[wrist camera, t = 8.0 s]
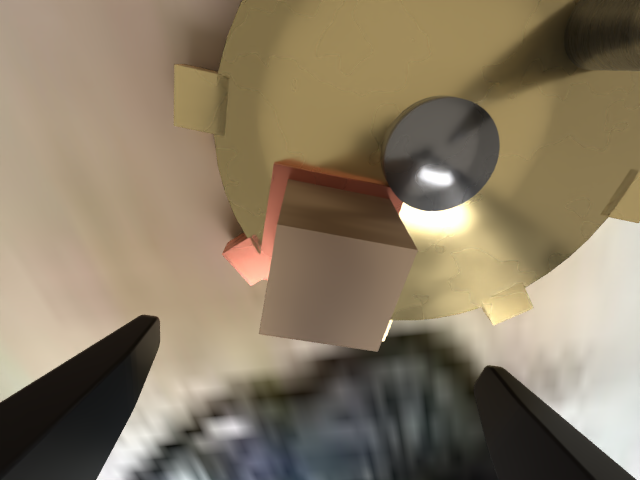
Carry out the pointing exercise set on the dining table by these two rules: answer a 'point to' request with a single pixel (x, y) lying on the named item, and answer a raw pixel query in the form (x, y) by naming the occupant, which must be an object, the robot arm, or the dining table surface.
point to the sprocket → (431, 131)
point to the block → (335, 267)
